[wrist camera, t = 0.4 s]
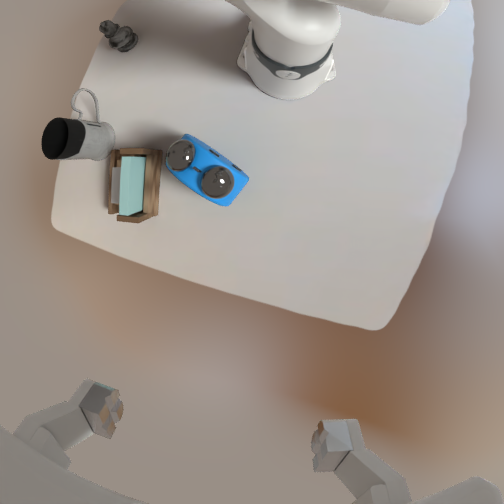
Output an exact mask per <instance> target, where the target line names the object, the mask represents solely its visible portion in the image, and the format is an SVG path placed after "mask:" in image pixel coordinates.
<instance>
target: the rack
mask: <svg viewBox="0 0 504 504" xmlns="http://www.w3.org/2000/svg"><path fill="white" fill-rule="evenodd" d="M162 151H163V150H154V149H146V148H120V150H111V159H110V174H109V200H108V214H115V213H119V205H117V204H115V203H111V187H112V168H113V167H117V160H122V157H147V158H146V170H145V184H144V204H143V210H141V211H139V212H136V213H133V214H131V215H128V216H126V215H117V221H122V222H132V223H140V222H142V221H144V220H146V219H149V218H151V217H153V216H157V215H158V203H159V186H160V173H161V161H162Z"/></svg>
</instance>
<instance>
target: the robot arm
mask: <svg viewBox="0 0 504 504" xmlns="http://www.w3.org/2000/svg"><path fill="white" fill-rule="evenodd" d="M225 1H227V2H229V3H231V4H232V5H234V6H235V7H237V8H238V9H240V10H241V11H242V12H243V13H245V14H246V15H247V16H248V17H249V18H250V19H251V21H250V22H249V25H248V30H249V33H248V35H247V36H246V39H245V42H244V45H243V47H242V50H241V52H240V55H239V57H238V59H237V65H238V66H239V67H240V68H241V69H242V70H244V71H245V72H247V73H248V74H249V75H250V77H251V79H252V80H253V82H254V83H255V85H256V86H257V87H258V88H259V89H260V90H262V91H263V92H264V93H266V94H268V95H270V96H272V97H275V98H279V99H285V100H293V99H299V98H303V97H306V96H308V95H310V94H311V93H313V92H314V91H315V90H316V89H317V88H318V87H319V86H320V85H321V84H323V83H325V82H328V81H331V80H333V79H334V78H335V75H336V72H335V65H334V60H333V54H332V46H333V41H334V39H335V37H336V35H337V34H338V32H339V30H340V26H341V16H340V12H339V10H338V8H337V6H336V5H339V6H343V7H347V8H350V9H354V10H357V11H361V12H364V13H367V14H370V15H373V16H378V17H383V18H388V19H393V20H398V21H402V22H407V23H411V24H415V25H423V24H426V23H429V22H431V21H433V20H435V19H436V18H438V17H439V16H440V15H441V14H442V13H443V12H444V11H445V10H446V8H447V7H448V5H449V3H450V0H225ZM244 56H245V58H243V57H244ZM119 396H120V394H119V391H118V390H117V389H114V388H111V387H108V386H105V385H103V384H100V383H98V382H95V381H93V380H90V379H86V380H84V381H83V382H82V384H81V385H80V386H79V388H78V389H77V390H76V392H75V393H74V394H73V396H72V397H71V399H70V400H69V401H68V402H67V401H64V402H62V403H59V404H57V405H54V406H52V407H49V408H47V409H44V410H41V411H39V412H36V413H33V414H31V415H28V416H26V417H25V418H24V420H23V421H22V422H21V424H20V425H19V426H18V428H17V429H16V431H15V432H14V433H13V434H11V433H10V432H9V431H8V430H6V429H5V428H4V427H3V426H1V425H0V504H149V503H146V502H142V501H139V500H136V499H133V498H131V497H128V496H125V495H122V494H119V493H117V492H114V491H112V490H109V489H107V488H105V487H102V486H100V485H98V484H96V483H93V482H91V481H89V480H87V479H85V478H83V477H80V476H79V475H77V474H74V473H73V472H71V471H69V470H67V469H68V467H69V465H70V463H71V460H70V458H69V457H68V456H67V455H66V453H65V452H64V451H66V450H68V449H69V448H71V447H73V446H75V445H76V444H78V443H79V442H81V441H83V440H84V439H86V438H88V437H89V436H91V435H92V434H93V433H95V434H98V435H101V436H104V437H106V438H109V439H111V437H112V435H113V433H114V431H115V429H116V427H115V423H117V422H118V421H120V419H121V417H122V414H123V404H122V401H121V400H120V399H119ZM311 448H312V452H313V453H314V454H315V457H314V458H313V467H314V472H331V471H334V473H335V474H336V476H337V477H338V478H339V479H340V480H341V481H342V483H343V484H344V485H345V486H346V487H347V488H348V489H349V491H350V492H351V493H352V494H353V495H354V496H355V497H356V499H357V500H355V501H354V502H353V503H352V504H504V500H503V497H502V494H501V492H500V490H499V488H498V487H497V486H496V485H495V484H493V483H491V482H490V481H487V480H486V479H484V478H482V477H479V476H474V477H471V478H469V479H467V480H465V481H463V482H460V483H458V484H456V485H454V486H452V487H450V488H447V489H445V490H443V491H440V492H437V493H435V494H432V495H430V496H427V497H424V498H421V499H418V500H416V501H413V502H412V500H411V497H410V493H409V490H408V487H407V483H406V480H405V478H404V477H403V476H402V475H400V474H399V473H398V472H397V471H395V470H394V469H393V468H392V467H390V466H389V465H388V464H387V463H385V462H384V461H383V460H382V459H381V458H379V457H378V456H377V455H376V454H374V453H373V452H372V451H371V450H370V449H366V448H365V444H364V440H363V437H362V433H361V430H360V426H359V423H358V420H357V419H347V420H344V419H342V420H341V419H340V420H321V421H320V422H319V423H318V429H317V430H316V431H314V433H313V436H312V441H311Z"/></svg>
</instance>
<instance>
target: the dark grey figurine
mask: <svg viewBox="0 0 504 504" xmlns="http://www.w3.org/2000/svg"><path fill="white" fill-rule="evenodd" d="M99 30H100V31H101V32H102V33H104V34H105V37H106V38H110V39H109V45H110V47H111V48H118V50H119V51H120V52H127V51H129V50H131V49H132V48H133V47H134V46H135V45H136V43H137V41H138V36H137V35H136V34H135V33H133V31H132V29H131V28H130V27H128V26H124V27H121V28H120V26H119V25H118V24H114V23H113V22H111V21H109V20H107V21H104V22H102V23H101V25H100V27H99Z"/></svg>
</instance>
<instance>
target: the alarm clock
mask: <svg viewBox="0 0 504 504" xmlns="http://www.w3.org/2000/svg"><path fill="white" fill-rule="evenodd" d="M166 166H167V168H168V169H169V171H170V172H171V173H172V174H173V175H174V176H175V177H176V178H177V179H179V180H180V181H181V182H182V183H183V184H185V185H186V186H187V187H189V188H190V189H192V190H193V191H194V192H196V193H197V194H199V195H201V196H202V197H204V198H206V199H207V200H209V201H211V202H213V203H215V204H218V205H221V206H229V205H230V204H231V203H232V201H233V200H234V199H235V198H236V196H237V195H238V194H239V192H240V191H241V190H242V188H243V187H244V186H245V185H246V183H247V182H248V181H249V177H248V176H247V175H246V174H245V173H244V172H243V171H242V170H241V169H239V168H238V167H237V166H236V165H234V164H233V163H232V162H230V161H229V160H228V159H227V158H225V157H224V156H222V155H221V154H220V153H218V152H217V151H215V150H214V149H212V148H211V147H209V146H208V145H206V144H205V143H203V142H202V141H200V140H199V139H197V138H195V137H193V136H191V135H189V134H185V135H184V136H183V137H182V139H181V140H178V141H176V142H174V143H173V144H172V145H171V146H170V147H169V148H168V150H167V153H166Z"/></svg>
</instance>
